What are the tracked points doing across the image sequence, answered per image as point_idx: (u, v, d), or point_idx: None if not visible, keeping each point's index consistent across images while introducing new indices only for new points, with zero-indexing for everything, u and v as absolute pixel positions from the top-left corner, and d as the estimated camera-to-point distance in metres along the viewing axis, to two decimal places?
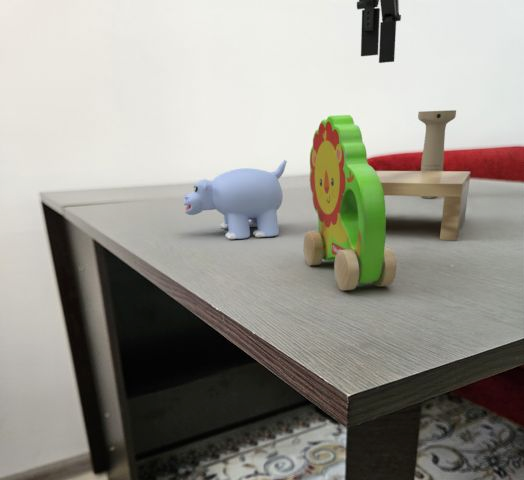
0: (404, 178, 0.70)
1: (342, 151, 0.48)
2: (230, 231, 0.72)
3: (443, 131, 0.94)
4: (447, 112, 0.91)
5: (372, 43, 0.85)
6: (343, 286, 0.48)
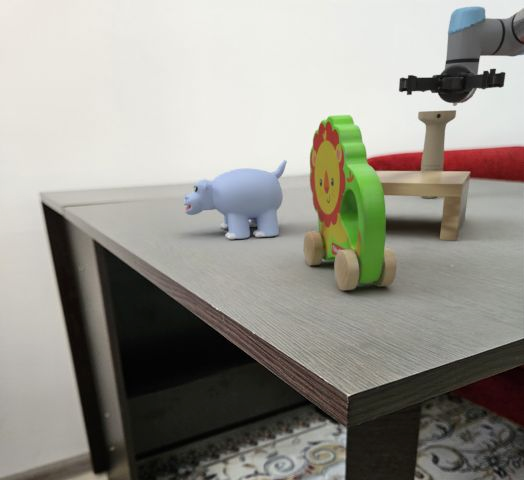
0: (404, 178, 0.70)
1: (342, 151, 0.48)
2: (230, 231, 0.72)
3: (443, 131, 0.94)
4: (447, 112, 0.91)
5: None
6: (343, 286, 0.48)
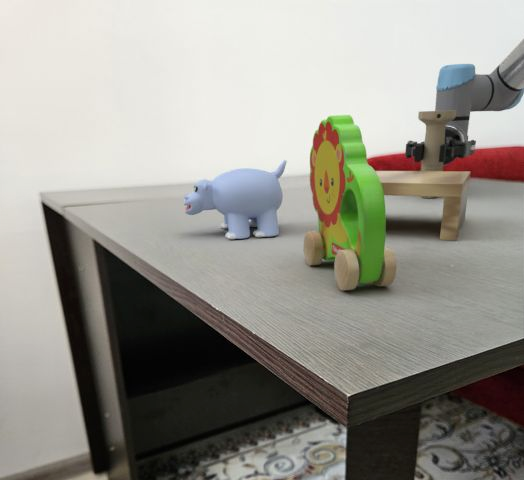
0: (404, 178, 0.70)
1: (342, 151, 0.48)
2: (230, 231, 0.72)
3: (443, 131, 0.94)
4: (447, 112, 0.91)
5: None
6: (343, 286, 0.48)
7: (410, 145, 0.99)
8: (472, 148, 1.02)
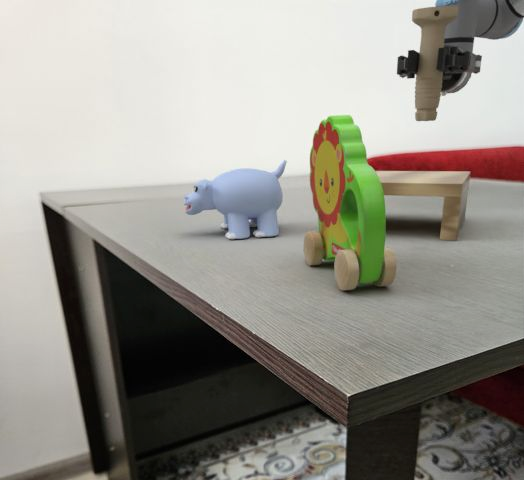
0: (404, 178, 0.70)
1: (342, 151, 0.48)
2: (230, 231, 0.72)
3: (442, 34, 0.77)
4: (447, 8, 0.74)
5: None
6: (343, 286, 0.48)
7: (403, 58, 0.82)
8: (477, 64, 0.85)
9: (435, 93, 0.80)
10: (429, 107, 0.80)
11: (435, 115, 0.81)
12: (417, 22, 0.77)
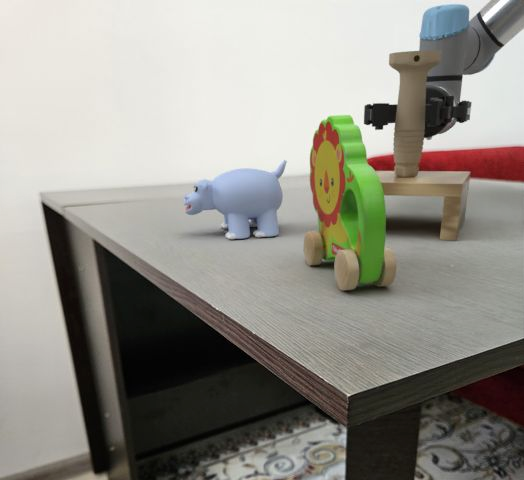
0: (404, 178, 0.70)
1: (342, 151, 0.48)
2: (230, 231, 0.72)
3: (424, 81, 0.67)
4: (429, 53, 0.64)
5: None
6: (343, 286, 0.48)
7: (369, 107, 0.73)
8: (468, 112, 0.75)
9: (416, 147, 0.69)
10: (409, 162, 0.70)
11: (417, 171, 0.71)
12: (395, 67, 0.67)
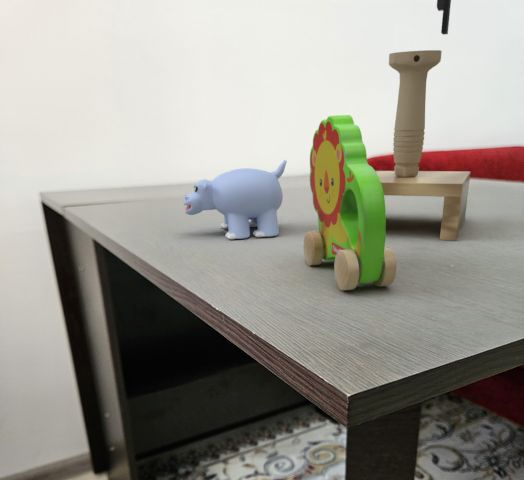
0: (404, 178, 0.70)
1: (342, 151, 0.48)
2: (230, 231, 0.72)
3: (423, 81, 0.67)
4: (428, 53, 0.64)
5: None
6: (343, 286, 0.48)
7: None
8: None
9: (416, 147, 0.69)
10: (409, 162, 0.70)
11: (416, 171, 0.71)
12: (394, 67, 0.67)
